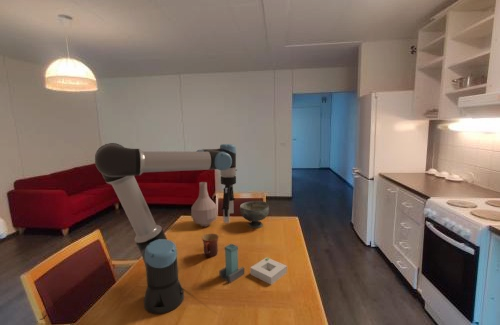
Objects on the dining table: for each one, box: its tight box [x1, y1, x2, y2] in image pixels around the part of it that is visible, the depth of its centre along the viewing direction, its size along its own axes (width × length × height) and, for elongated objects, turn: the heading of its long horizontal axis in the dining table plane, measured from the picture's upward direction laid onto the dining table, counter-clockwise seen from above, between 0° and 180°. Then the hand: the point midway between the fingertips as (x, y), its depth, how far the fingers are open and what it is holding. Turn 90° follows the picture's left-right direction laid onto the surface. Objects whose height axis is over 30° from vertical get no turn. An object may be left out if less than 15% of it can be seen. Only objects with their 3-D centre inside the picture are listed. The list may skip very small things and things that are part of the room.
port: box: [249, 257, 288, 285], centre depth 119 cm, size 12×12×5 cm
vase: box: [190, 181, 218, 227], centre depth 178 cm, size 18×18×30 cm
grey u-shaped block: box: [218, 266, 245, 284], centre depth 118 cm, size 9×7×4 cm
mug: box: [201, 233, 219, 259], centre depth 136 cm, size 12×9×10 cm
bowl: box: [239, 200, 270, 229], centre depth 176 cm, size 20×19×15 cm
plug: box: [224, 243, 239, 276], centre depth 117 cm, size 4×4×14 cm
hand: (228, 217), depth 128 cm, fingers open, 13 cm apart
